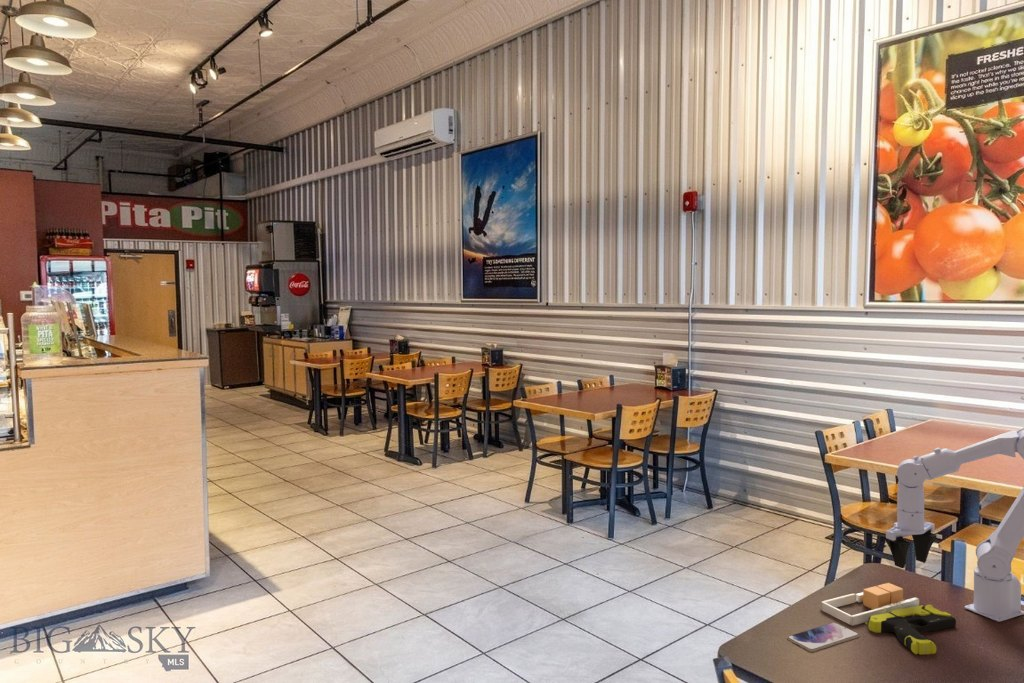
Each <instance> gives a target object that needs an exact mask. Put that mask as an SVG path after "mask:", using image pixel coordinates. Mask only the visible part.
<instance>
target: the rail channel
mask: <svg viewBox="0 0 1024 683" xmlns="http://www.w3.org/2000/svg"><path fill="white" fill-rule="evenodd" d="M855 603H859V604H860V603H863V591H862V592H859V593H855ZM916 606H920V598H918V597H915V596H914V597H912V598H911V597H910V598H908V599H903V601H900V602H896V603H893V604H889V605H885V606H882V607H885V608H886V609H885V613H889V612H891V611H892V610H893V611H894V610H898V609H904V608H909V607H916Z"/></svg>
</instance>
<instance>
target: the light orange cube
mask: <svg viewBox="0 0 1024 683" xmlns="http://www.w3.org/2000/svg"><path fill="white" fill-rule="evenodd" d="M876 587H879V588H881V589H883V590H886V591H888V592H890V604H893V603H896V602H900V601H903V600H904V588H902V587H900V586H897V585H895V584H892V583H890V582H886V583H882V584H879V585H876Z"/></svg>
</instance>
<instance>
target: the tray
mask: <svg viewBox="0 0 1024 683" xmlns="http://www.w3.org/2000/svg"><path fill="white" fill-rule="evenodd" d="M854 603H856V593H850V594H846V595H845V594H844V595H841V596H838V597H834V598H831V599H830V598H829V599H825V600H823V601H820V611H822V612H825V613H826V614H828V615H830V616H832V617H834V618H836V619H838V620H840V621H842V622H844V623H846V624H848V625H850V626H857V625H860V624H863V623H866V622H868V619H869V617H870V616H872V615H878V614H884V613H885V609H886V608H885V607H881V608H877V609H874V610H873V609H871V610H868V611H867V610H866V611H864V612H859V613H856V614H852V615H851V614H849V613H847V612H845V611H843V610H841V609H840V608H841V607H843V606H846V605H851V604H854ZM839 607H840V608H839Z"/></svg>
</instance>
